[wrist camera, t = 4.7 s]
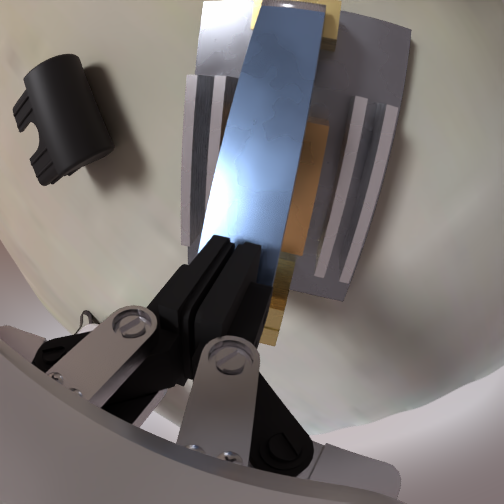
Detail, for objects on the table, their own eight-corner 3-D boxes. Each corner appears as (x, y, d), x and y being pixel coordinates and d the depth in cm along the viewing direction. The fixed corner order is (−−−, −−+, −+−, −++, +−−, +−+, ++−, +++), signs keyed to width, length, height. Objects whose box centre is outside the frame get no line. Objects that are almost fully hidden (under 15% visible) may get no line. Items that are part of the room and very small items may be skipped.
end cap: (132, 140, 23) (79, 161, 17) (86, 170, 26) (38, 195, 20) (96, 52, 19) (40, 54, 13) (55, 91, 22) (5, 103, 16)
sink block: (211, 6, 15) (143, -30, 8) (405, 33, 13) (455, -1, 6) (194, 255, 27) (145, 321, 20) (343, 290, 25) (341, 373, 18)
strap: (266, 6, 11) (264, -5, 10) (325, 13, 10) (326, 1, 9) (193, 318, 12) (184, 325, 11) (260, 337, 12) (257, 345, 11)
